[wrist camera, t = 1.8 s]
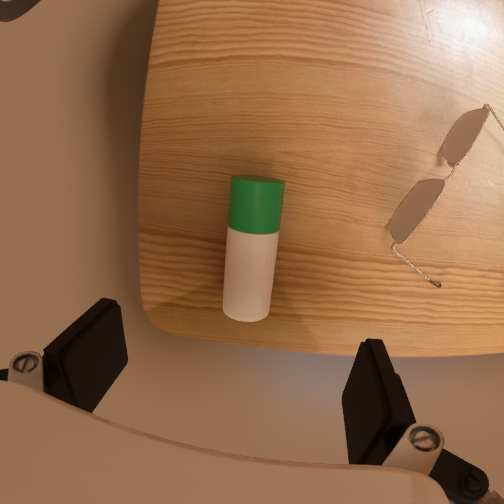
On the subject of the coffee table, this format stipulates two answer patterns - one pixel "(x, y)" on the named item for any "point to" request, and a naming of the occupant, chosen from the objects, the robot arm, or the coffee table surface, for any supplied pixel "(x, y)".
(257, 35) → the coffee table surface
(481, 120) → the eyeglasses
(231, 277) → the marker
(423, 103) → the coffee table surface
